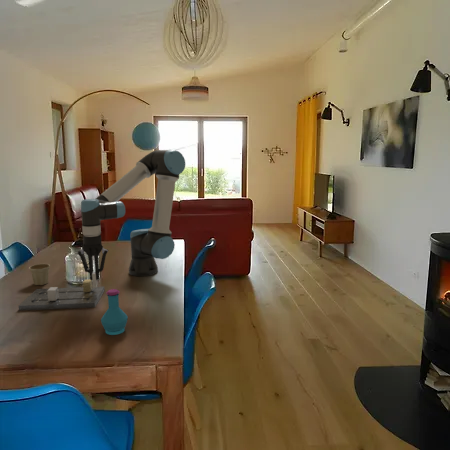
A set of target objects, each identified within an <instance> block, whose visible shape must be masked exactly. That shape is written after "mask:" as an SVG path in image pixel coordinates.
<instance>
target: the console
mask: <svg viewBox="0 0 450 450" xmlns="http://www.w3.org/2000/svg"><path fill="white" fill-rule="evenodd" d="M92 288H93V286H92ZM48 289H49V288H36V289H35V290H34V291H33V292H31V294H30V295H28V296H27V298H25V299H24V300H23V301H22V302H21V303H19V305H18V311H37V310H42V311H43V310H59V309H60V310H64V309H67V310H68V309H82V308H84V309H86V308H87V309H89V308H96V306H97V305H98V304H99V303H98V302H99V301H100V300H101V298H102V296H103V294H104V293H105V286H97V287H96V288H93V289H92V290H91V292H83V286H82V287H81V286H80V287H58V293H59V297H58V299H57V300H56V301H48V291H47V290H48Z"/></svg>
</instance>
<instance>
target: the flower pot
mask: <svg viewBox="0 0 450 450" xmlns="http://www.w3.org/2000/svg"><path fill="white" fill-rule="evenodd" d="M50 267H51V265H50V264H49V263H38V264H33V265H31V266H29V267H28V270H29V272H30V273H31V274H30V275H31V278H32V281H33V284H34V286H39V285H40V286H44V285H46V284H48V283H49V271H50Z"/></svg>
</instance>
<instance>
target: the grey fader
mask: <svg viewBox="0 0 450 450" xmlns="http://www.w3.org/2000/svg"><path fill="white" fill-rule="evenodd" d="M58 288H59V287H58V286H54V287H53V286H50V287H48V288H47V289H48V290H47V291H48V301H56V300H57V299H58V297H59V293H58Z"/></svg>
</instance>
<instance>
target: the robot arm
mask: <svg viewBox="0 0 450 450" xmlns="http://www.w3.org/2000/svg"><path fill="white" fill-rule="evenodd" d="M185 169H186V159H185V157H184V156H183V154H182V153H181V152H180V151H178V150H177V149H176V150H175V149H155V150H152V151H151V152H149V153H148V154H146V155H145V156H144V157H141V159H139V160H138V161H137V162H136V163H135V166H134V167H133V168H132V169H130V170H129V171H128V172H127V173H126V174H124V175H123V176H121V178H119V179H118V180H117V181H116V182H114V183H113V184H112V185H111V186H109V187H108V188H107V189H105V190H104V191H103V192H102V193H101V194H100V195H98V196H97V197H95V198H91V199H89V198H87V199H86V198H85V199H82V200H81V201H80V213H81V214H80V215H81V224H82V225H81V228H82V235H83V236H82V243H83V246H82V249H80V250H77V255H78V256H79V257H80V260H81V264H82V267H83V269H84V272H85V273H88V274H89V279H90V280H92V287H93V288H96V287H99V286H98V281H99V280H100V272H101V273H102V272H103V270H104V268H105V263H106V257H107V254H108V252H109V249H106V248H104V246H103V243H102V235H101V234H102V231H101V230H102V229H101V221H104V220H113V219H119V218H123V217H124V216H125V215H126V206H125V204H124V202H123V201H120V200H121V199H122V198H123V197H125V195H127V194H129V192H131V190H133V189H134V188H135V187H136V186H138V185H139V183H141V182H143V180H145V179H149V178H150V177H151V176H153V175H155V177H156V178H157V187H156V193H155V201H154V206H153V207H154V209H153V216H152V224H151V227H150V228H141V229H136V230H132V231H131V232H130V237H129V239H130V250H131V253H130V255H131V259H130V264H129V268H128V274H129V275H130V276H133V277H147V276H153V275H155V274H157V273H158V272H159V270H158V269H159V268H158V265H157V262H156V259H159V260H165V259H167V258H169V256H171V255H172V254H173V252H174V250H175V245H176V244H175V241H174V239H173V238H172V231H171V230H170V224H171V217H172V211H173V204H174V202H173V201H174V195H175V188H176V187H175V186H176V182H177V181H178V180H179V179H180V175H181V174H182V173H183V172H184V170H185ZM100 253H102V256H101V260H99V254H100ZM85 254H86V255H87V258H88V262H87V259H86V256H85ZM93 259H94V262H93ZM99 261H100V262H99Z"/></svg>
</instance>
